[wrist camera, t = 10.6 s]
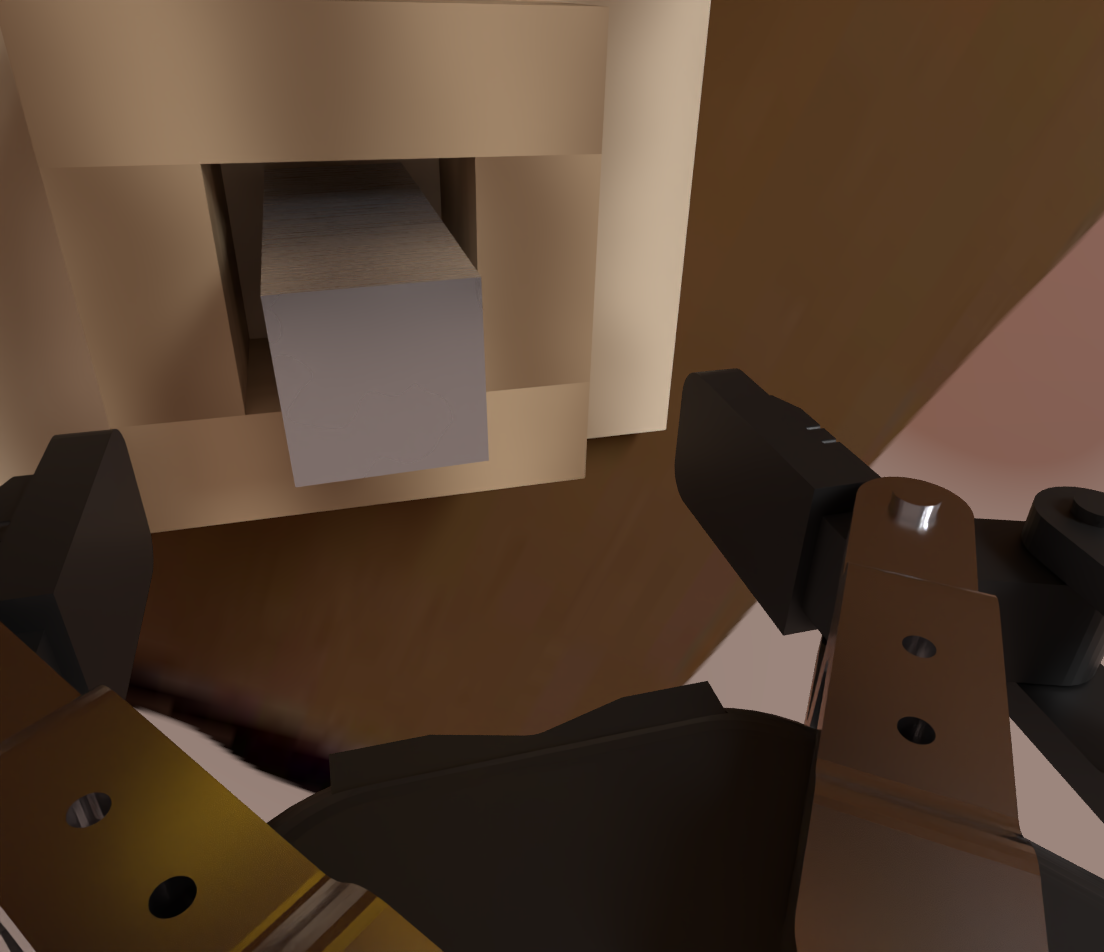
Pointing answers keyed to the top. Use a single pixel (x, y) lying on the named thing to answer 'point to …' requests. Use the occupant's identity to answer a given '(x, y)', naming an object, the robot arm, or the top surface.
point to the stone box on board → (331, 140)
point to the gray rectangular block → (370, 325)
